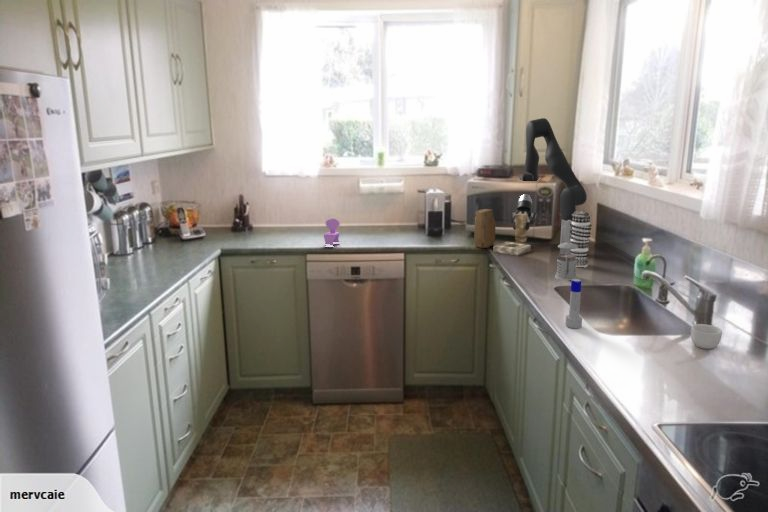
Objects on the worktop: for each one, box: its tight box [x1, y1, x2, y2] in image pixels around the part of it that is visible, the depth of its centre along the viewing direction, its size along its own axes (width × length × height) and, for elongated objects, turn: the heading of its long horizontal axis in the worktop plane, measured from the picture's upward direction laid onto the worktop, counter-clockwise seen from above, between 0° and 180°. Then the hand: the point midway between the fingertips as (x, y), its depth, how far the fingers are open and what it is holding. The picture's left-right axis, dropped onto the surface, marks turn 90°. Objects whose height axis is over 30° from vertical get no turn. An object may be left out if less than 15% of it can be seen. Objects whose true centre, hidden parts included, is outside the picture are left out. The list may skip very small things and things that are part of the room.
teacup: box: [690, 323, 723, 350], centre depth 158 cm, size 10×8×5 cm
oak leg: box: [514, 213, 528, 244], centre depth 285 cm, size 5×5×15 cm
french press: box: [554, 220, 578, 281], centre depth 226 cm, size 10×12×25 cm
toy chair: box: [323, 218, 340, 246], centre depth 298 cm, size 8×9×15 cm
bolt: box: [565, 278, 583, 329], centre depth 174 cm, size 16×5×5 cm
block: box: [473, 208, 496, 249], centre depth 287 cm, size 11×8×20 cm
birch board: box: [492, 241, 532, 257], centre depth 277 cm, size 14×13×3 cm
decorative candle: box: [569, 210, 592, 268], centre depth 245 cm, size 9×9×25 cm
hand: (520, 229), depth 284 cm, fingers closed on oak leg, 5 cm apart
